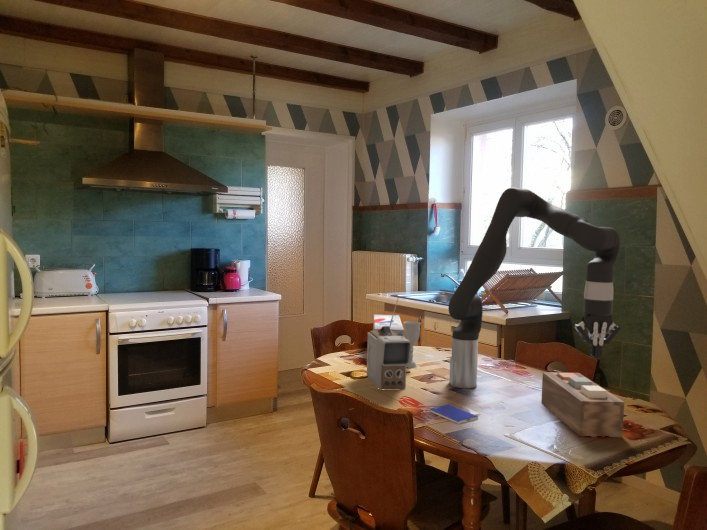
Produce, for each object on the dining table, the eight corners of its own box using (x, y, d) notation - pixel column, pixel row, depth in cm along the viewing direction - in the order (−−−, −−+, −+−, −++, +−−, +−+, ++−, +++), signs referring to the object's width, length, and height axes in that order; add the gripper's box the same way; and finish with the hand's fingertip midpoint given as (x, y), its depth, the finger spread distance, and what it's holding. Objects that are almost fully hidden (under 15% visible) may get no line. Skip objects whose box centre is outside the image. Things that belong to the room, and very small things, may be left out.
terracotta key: (562, 391, 176) (563, 376, 176) (556, 387, 181) (557, 372, 181) (578, 392, 176) (579, 377, 176) (572, 387, 181) (572, 372, 181)
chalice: (422, 366, 228) (424, 322, 227) (415, 369, 223) (416, 324, 221) (406, 363, 232) (408, 320, 231) (399, 366, 226) (400, 322, 225)
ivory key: (587, 407, 158) (588, 390, 158) (580, 401, 163) (581, 385, 163) (605, 407, 158) (606, 390, 158) (597, 401, 163) (598, 385, 163)
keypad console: (579, 436, 155) (581, 401, 154) (541, 402, 185) (542, 372, 184) (622, 437, 155) (624, 401, 155) (577, 402, 185) (579, 372, 185)
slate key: (574, 397, 167) (575, 381, 167) (568, 392, 172) (568, 376, 172) (591, 397, 167) (592, 381, 167) (584, 392, 172) (585, 377, 172)
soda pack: (403, 361, 236) (404, 329, 235) (372, 360, 236) (373, 328, 235) (398, 341, 276) (399, 313, 275) (372, 340, 277) (373, 312, 275)
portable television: (380, 393, 190) (383, 306, 188) (365, 374, 214) (366, 296, 211) (414, 392, 193) (417, 305, 191) (395, 373, 216) (397, 296, 214)
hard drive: (429, 408, 173) (458, 420, 163) (449, 403, 178) (478, 415, 168) (429, 413, 173) (458, 425, 163) (449, 408, 178) (478, 420, 168)
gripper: (580, 298, 155) (577, 360, 156) (628, 299, 155) (625, 361, 156) (569, 295, 162) (567, 354, 163) (615, 296, 162) (612, 355, 164)
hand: (595, 357), depth 160 cm, fingers closed
